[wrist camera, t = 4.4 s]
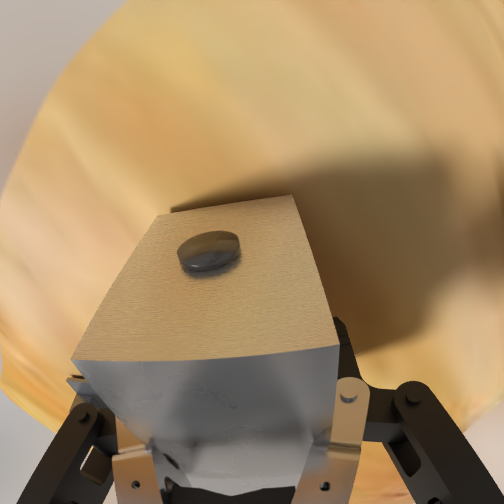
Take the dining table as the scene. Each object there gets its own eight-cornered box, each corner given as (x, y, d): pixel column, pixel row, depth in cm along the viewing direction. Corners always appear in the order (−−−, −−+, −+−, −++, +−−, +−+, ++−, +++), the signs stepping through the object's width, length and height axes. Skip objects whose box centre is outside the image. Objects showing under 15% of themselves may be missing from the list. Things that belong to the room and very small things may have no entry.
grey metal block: (155, 209, 11) (64, 350, 5) (291, 188, 10) (340, 333, 4) (216, 381, 16) (205, 497, 10) (306, 373, 15) (321, 492, 9)
